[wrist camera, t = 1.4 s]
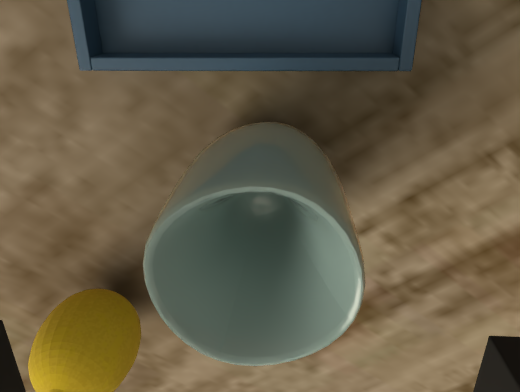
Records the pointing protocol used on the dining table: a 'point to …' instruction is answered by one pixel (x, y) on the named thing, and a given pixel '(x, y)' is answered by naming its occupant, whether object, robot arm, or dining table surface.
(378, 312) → the dining table surface
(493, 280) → the dining table surface
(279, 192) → the cup
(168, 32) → the tray
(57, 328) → the lemon
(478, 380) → the robot arm
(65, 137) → the dining table surface
